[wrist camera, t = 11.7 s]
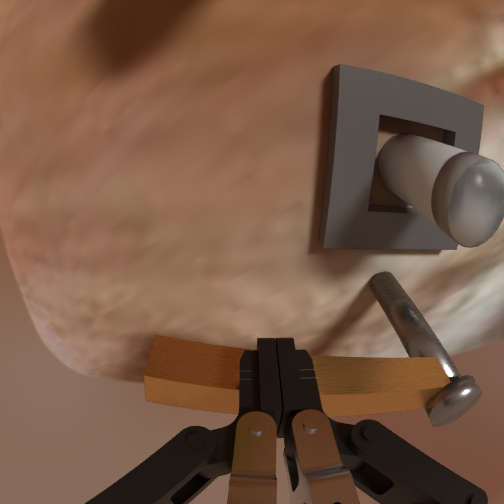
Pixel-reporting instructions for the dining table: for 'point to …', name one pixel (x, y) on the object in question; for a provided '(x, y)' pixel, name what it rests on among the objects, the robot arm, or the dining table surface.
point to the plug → (445, 186)
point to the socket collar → (364, 151)
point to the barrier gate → (327, 371)
